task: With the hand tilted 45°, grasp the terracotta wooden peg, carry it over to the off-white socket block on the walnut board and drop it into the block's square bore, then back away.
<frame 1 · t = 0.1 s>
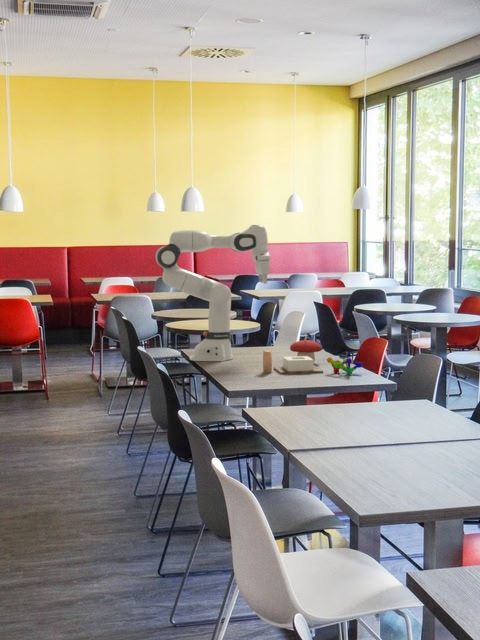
hand: (263, 283, 439), 39 cm above the table, tool pointing down, fingers open, 8 cm apart
base board: (298, 370, 399), on the table
mushroom: (305, 363, 422), on the table
decorative model: (344, 374, 390), on the table
peg: (267, 372, 395), on the table
socket block: (298, 363, 399), on the base board, point 4 cm above the table
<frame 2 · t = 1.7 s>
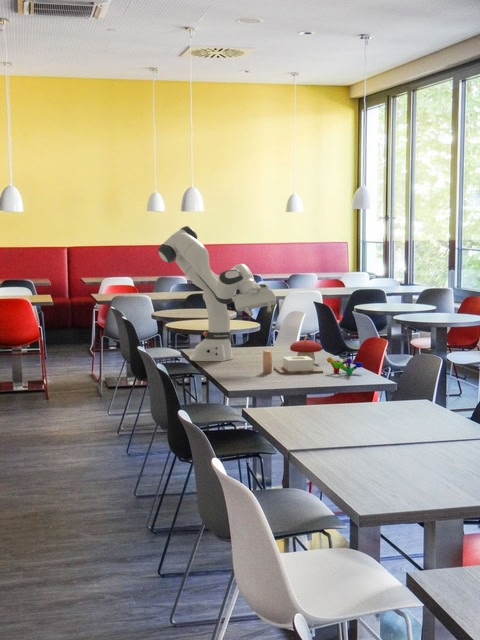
hand: (260, 313, 403), 27 cm above the table, tool tilted 45°, fingers open, 8 cm apart
nothing on the table moved.
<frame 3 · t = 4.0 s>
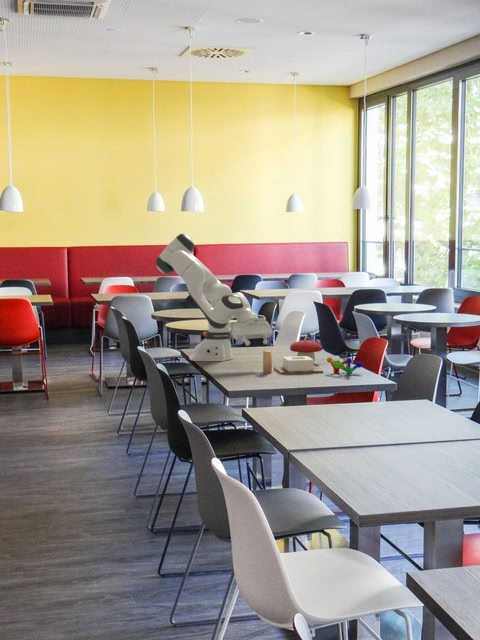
hand: (257, 344, 400), 13 cm above the table, tool tilted 45°, fingers open, 8 cm apart
nothing on the table moved.
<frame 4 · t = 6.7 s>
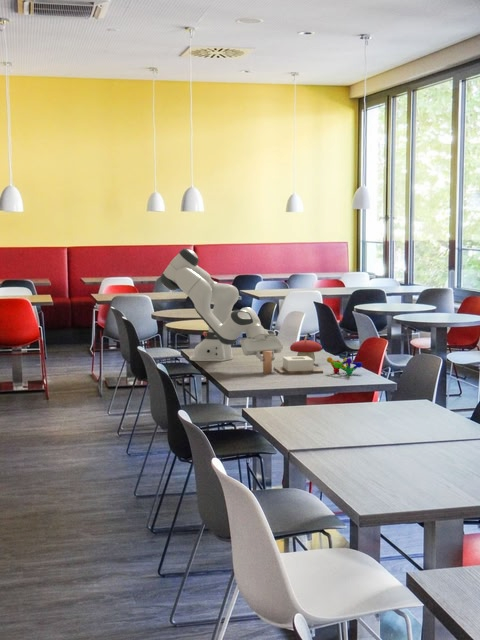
hand: (268, 360, 394), 6 cm above the table, tool tilted 45°, fingers closed on peg, 4 cm apart
peg: (267, 372, 395), on the table, touching gripper
everything else where it was.
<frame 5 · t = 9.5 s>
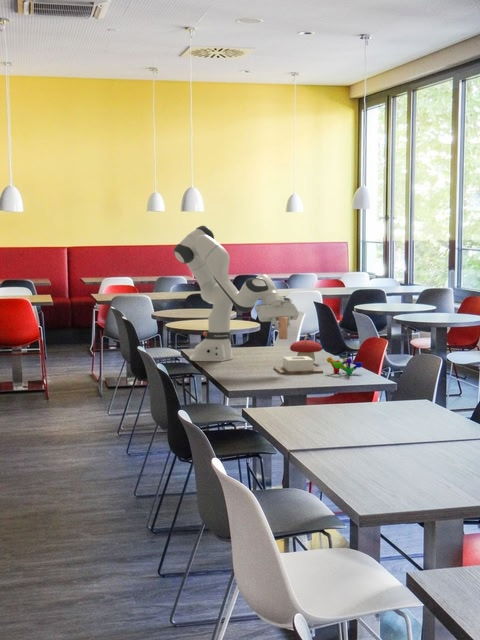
hand: (283, 326, 394), 21 cm above the table, tool tilted 45°, fingers closed on peg, 4 cm apart
peg: (283, 338, 395), point 16 cm above the table, touching gripper
everything else where it was.
when the fingers open (9 cm above the table, at t = 12.3 s): peg drops 2 cm, resting on base board.
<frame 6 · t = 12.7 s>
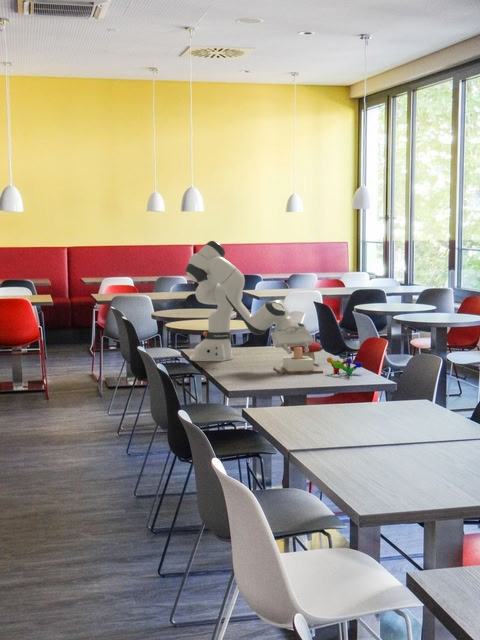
hand: (298, 352, 398), 9 cm above the table, tool tilted 45°, fingers open, 8 cm apart
peg: (298, 368, 399), point 1 cm above the table, touching base board
everything else where it was.
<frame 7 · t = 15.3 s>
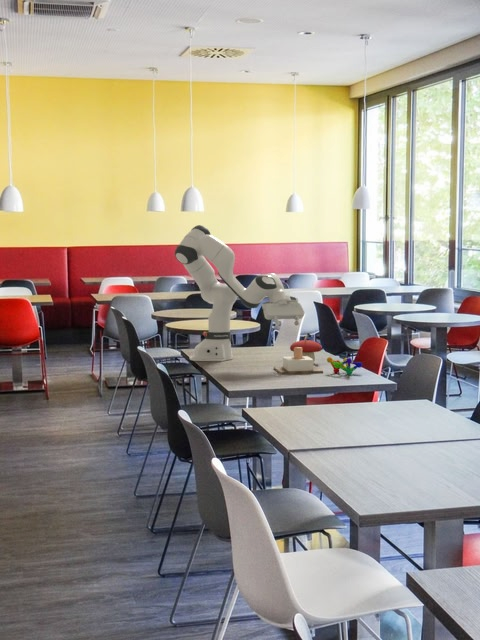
hand: (288, 324, 404), 21 cm above the table, tool tilted 45°, fingers open, 8 cm apart
nothing on the table moved.
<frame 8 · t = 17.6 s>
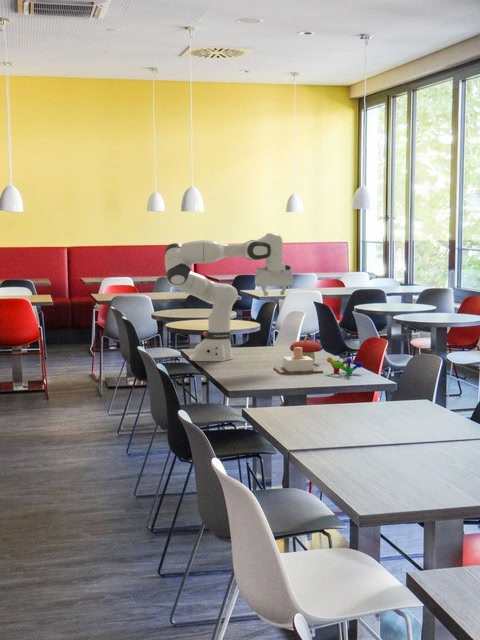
hand: (274, 295, 416), 34 cm above the table, tool pointing down, fingers open, 8 cm apart
nothing on the table moved.
at the end: peg 0.0 cm off-centre on the socket block, point 1.0 cm above the socket block's base; peg tilted 0°; the gripper is holding nothing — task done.
